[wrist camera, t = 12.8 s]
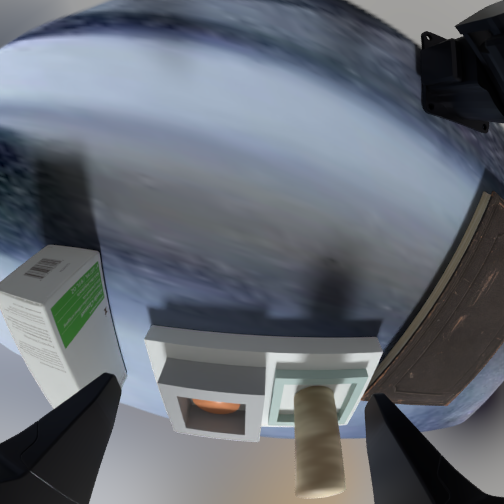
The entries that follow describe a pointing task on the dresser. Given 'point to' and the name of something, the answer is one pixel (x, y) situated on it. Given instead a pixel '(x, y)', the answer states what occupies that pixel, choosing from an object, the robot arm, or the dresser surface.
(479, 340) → the hardcover book
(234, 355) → the panel
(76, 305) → the skincare box
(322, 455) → the beige cylindrical rod
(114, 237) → the dresser surface
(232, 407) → the button
